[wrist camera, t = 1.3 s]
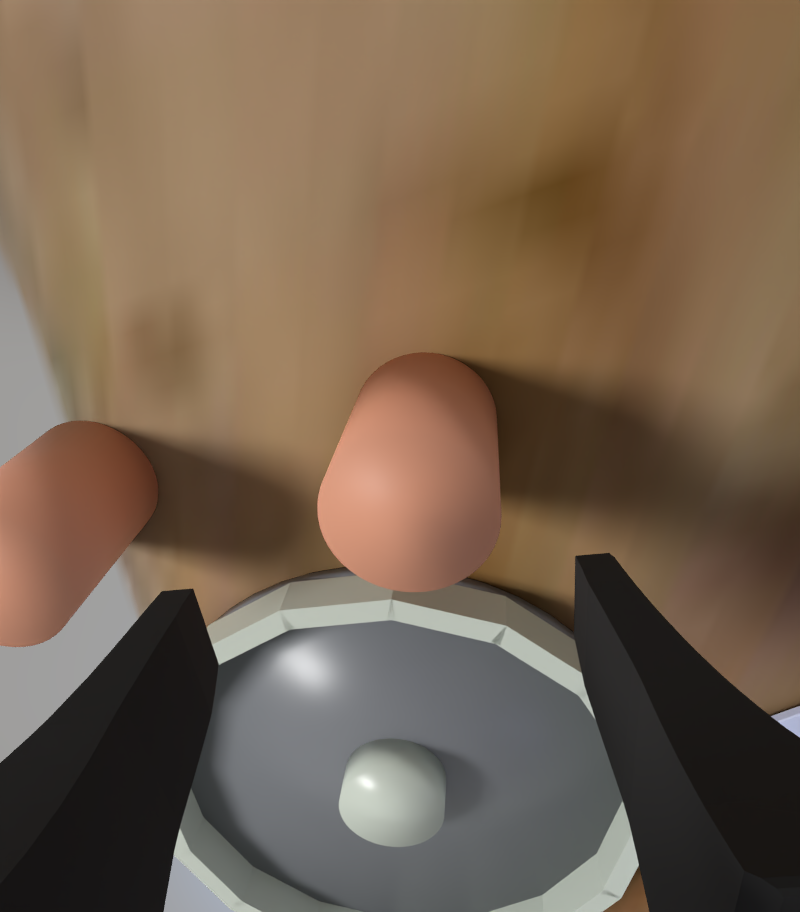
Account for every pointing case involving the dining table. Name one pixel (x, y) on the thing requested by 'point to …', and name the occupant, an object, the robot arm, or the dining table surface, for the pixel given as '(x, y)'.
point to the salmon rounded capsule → (415, 477)
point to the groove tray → (419, 698)
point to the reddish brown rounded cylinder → (66, 523)
